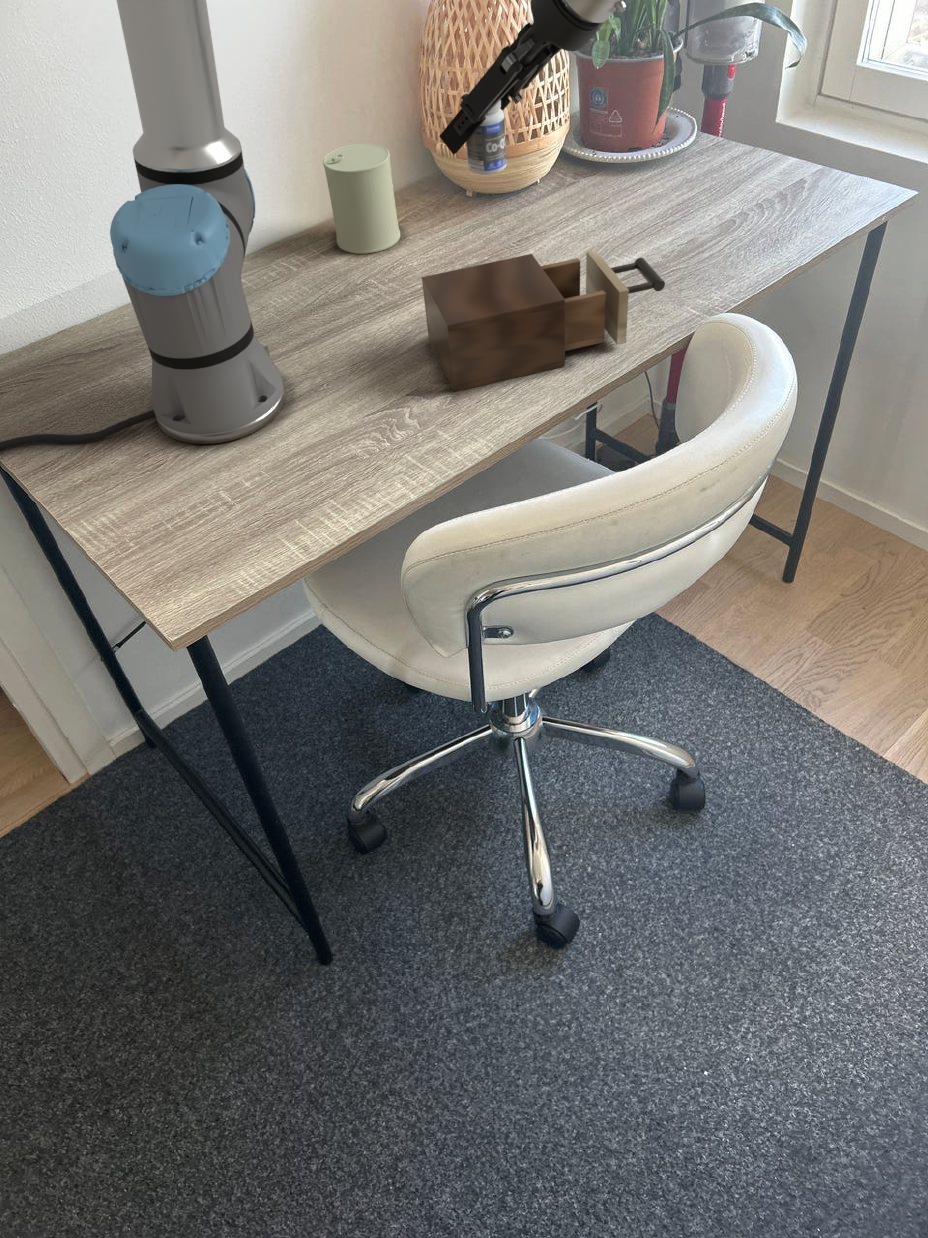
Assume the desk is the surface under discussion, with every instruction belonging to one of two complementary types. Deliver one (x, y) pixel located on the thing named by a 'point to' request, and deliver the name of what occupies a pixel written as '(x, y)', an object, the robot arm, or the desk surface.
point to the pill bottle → (488, 144)
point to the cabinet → (495, 321)
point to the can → (362, 197)
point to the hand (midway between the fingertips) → (460, 135)
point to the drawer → (597, 298)
